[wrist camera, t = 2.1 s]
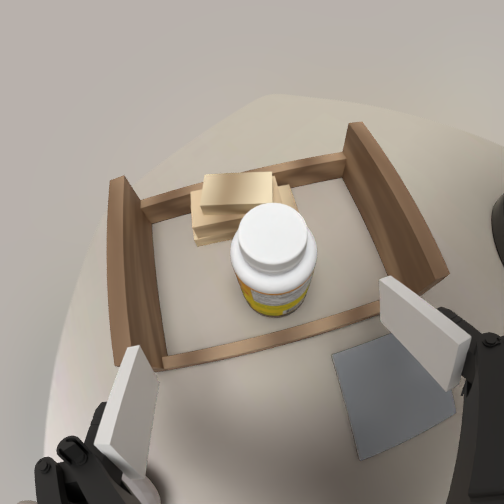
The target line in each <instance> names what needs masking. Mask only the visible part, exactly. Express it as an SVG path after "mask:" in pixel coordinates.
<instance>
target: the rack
mask: <svg viewBox="0 0 504 504" xmlns="http://www.w3.org/2000/svg"><path fill="white" fill-rule="evenodd" d="M246 172H272V176H275V178H276V182H277V185H278V186H283V185H288V184H289V185H290V188H293V187H297V186H302V185H307V184H311V183H316V182H321V181H326V180H330V179H335V178H341V177H342V178H343V180H344V182H345V184H346V186H347V188H348V190H349V192H350V194H351V196H352V198H353V200H354V202H355V204H356V206H357V208H358V210H359V212H360V214H361V216H362V218H363V220H364V222H365V224H366V226H367V229H368V231H369V233H370V235H371V237H372V239H373V242H374V244H375V246H376V248H377V251H378V253H379V255H380V258H381V260H382V262H383V265H384V267H385V270H386V272H387V275H388V276H390V275H391V276H392V277H393V278H395V279H396V280H398V281H399V282H400V283H402V284H403V285H405V286H406V287H407V288H409V289H410V290H411V291H413V292H414V293H416V294H417V295H418V296H421V295H422V294H424V293H425V292H427V291H428V290H429V289H431V288H432V287H433V286H435V285H436V284H437V283H439V282H440V281H441V280H443V279H444V278H445V277H446V276H448V275H449V274H450V273H449V270H448V268H447V266H446V263H445V261H444V259H443V257H442V255H441V252H440V250H439V248H438V246H437V244H436V242H435V240H434V238H433V236H432V234H431V232H430V230H429V228H428V226H427V224H426V222H425V220H424V218H423V216H422V214H421V213H420V211H419V209H418V207H417V205H416V203H415V202H414V200H413V198H412V196H411V195H410V193H409V191H408V190H407V188H406V186H405V185H404V183H403V181H402V180H401V178H400V176H399V175H398V173H397V172H396V170H395V168H394V167H393V165H392V164H391V162H390V161H389V159H388V158H387V156H386V155H385V153H384V152H383V150H382V149H381V147H380V146H379V144H378V143H377V141H376V140H375V139H374V137H373V136H372V134H371V133H370V132H369V130H368V129H367V127H366V126H365V125H364V123H363V122H354V123H349V124H348V129H347V134H346V138H345V143H344V148H343V152H339V153H333V154H328V155H322V156H316V157H311V158H306V159H301V160H295V161H290V162H286V163H281V164H276V165H271V166H267V167H262V168H258V169H254V170H249V171H245V172H241V173H246ZM201 189H203V182H202V183H198V184H194V185H191V186H187V187H183V188H180V189H176V190H173V191H170V192H166V193H163V194H160V195H156V196H153V197H150V198H147V199H143V200H140V199H139V197H138V196H137V194H136V193H135V191H134V190H133V188H132V187H131V185H130V184H129V182H128V180H127V179H126V177H125V176H121V177H118V178H116V179H113V180H110V185H109V200H108V217H107V288H108V306H109V320H110V331H111V341H112V349H113V357H114V365H115V366H117V367H120V365H121V363H122V360H123V357H124V355H125V352H126V350H127V347H132V346H137V345H140V347H141V349H142V351H143V352H144V354H145V356H146V358H147V360H148V362H149V364H150V366H151V367H152V369H153V371H154V372H160V371H166V370H172V369H178V368H183V367H189V366H194V365H199V364H204V363H209V362H214V361H219V360H224V359H228V358H233V357H237V356H241V355H246V354H250V353H254V352H258V351H262V350H266V349H270V348H274V347H277V346H281V345H285V344H288V343H292V342H296V341H299V340H302V339H306V338H309V337H313V336H316V335H319V334H323V333H326V332H329V331H332V330H335V329H338V328H341V327H344V326H347V325H350V324H353V323H356V322H359V321H362V320H365V319H368V318H370V317H373V316H376V315H379V314H380V300H377V301H375V302H372V303H369V304H366V305H363V306H360V307H357V308H354V309H351V310H348V311H345V312H342V313H339V314H336V315H332V316H329V317H326V318H323V319H319V320H316V321H313V322H309V323H306V324H302V325H299V326H295V327H292V328H288V329H285V330H281V331H277V332H273V333H270V334H266V335H262V336H258V337H254V338H250V339H246V340H242V341H238V342H233V343H229V344H225V345H220V346H216V347H211V348H206V349H202V350H197V351H192V352H187V353H182V354H176V355H171V356H168V355H167V349H166V344H165V338H164V331H163V325H162V318H161V311H160V304H159V296H158V288H157V280H156V270H155V260H154V249H153V237H152V224H153V223H156V222H160V221H163V220H167V219H170V218H174V217H177V216H181V215H184V214H188V213H191V206H190V205H191V193H190V192H192V191H196V190H201Z"/></svg>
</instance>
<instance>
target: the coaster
mask: <svg viewBox="0 0 504 504" xmlns="http://www.w3.org/2000/svg"><path fill="white" fill-rule="evenodd" d="M331 356H332V360H333V363H334V367H335V370H336V373H337V377H338V380H339V384H340V388H341V391H342V395H343V398H344V402H345V406H346V409H347V413H348V417H349V421H350V425H351V428H352V432H353V436H354V440H355V444H356V448H357V452H358V456H359V460H360V461H361V460H364V459H367V458H369V457H372V456H374V455H376V454H379V453H381V452H383V451H386V450H388V449H390V448H392V447H394V446H397V445H399V444H401V443H403V442H405V441H407V440H409V439H411V438H413V437H415V436H417V435H419V434H421V433H422V432H424V431H426V430H428V429H430V428H432V427H433V426H435V425H437V424H439V423H440V422H442V421H444V420H445V419H447V418H449V417H450V416H452V415H453V414H455V413H456V408H455V403H454V399H453V394H452V390H449V391H447V392H446V391H445V390H444V389H443V388H442V387H441V386H440V385H439V383H438V382H437V381H436V380H435V379H434V378H433V377H432V376H431V375H430V374H429V372H428V371H427V370H426V369H425V368H424V367H423V366H422V365H421V364H420V363H419V362H418V360H417V359H416V358H415V357H414V356H413V355H412V354H411V353H410V352H409V351H408V350H407V349H406V348H405V347H404V345H403V344H402V343H401V342H400V341H399V340H398V339H397V338H396V337H395V336H394V335H393V334H392V333H390V334H388V335H385V336H383V337H380V338H377V339H375V340H372V341H370V342H367V343H364V344H361V345H359V346H356V347H353V348H350V349H347V350H344V351H341V352H338V353H335V354H332V355H331Z"/></svg>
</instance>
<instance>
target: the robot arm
mask: <svg viewBox="0 0 504 504" xmlns="http://www.w3.org/2000/svg"><path fill="white" fill-rule="evenodd" d="M492 228H493V234H494V239H495V243H496V246H497V249H498V252H499V255H500V257H501V260H502V262H503V264H504V194H503V195H502V196H501V197H500V198H499V199H498V201H497V202H496V203H495V205H494V208H493V212H492ZM379 295H380V321H381V323H382V324H383V325H384V326H385V327H386V328H387V329H388V330H389V331H390V332H391V333H392V334H393V335H394V336H395V337H396V338H397V339H398V340H399V341H400V342H401V343H402V344H403V345H404V347H405V348H406V349H407V350H408V351H409V352H410V353H411V354H412V355H413V356H414V357H415V358H416V359H417V360H418V362H419V363H420V364H421V365H422V366H423V367H424V368H425V369H426V370H427V371H428V372H429V374H430V375H431V376H432V377H433V378H434V379H435V380H436V381H437V382H438V383H439V385H440V386H441V387H442V388H443V389H444V390H445V391H446V392H447V391H449V390H451V389H452V388H454V387H455V386H457V385H458V384H459V382H460V379H461V375H462V376H463V377H464V378H465V379H466V381H465V384H464V387H463V390H462V393H461V396H463V394H464V404H463V416H462V426H461V434H460V441H459V448H458V454H457V459H456V464H455V469H454V474H453V479H452V483H451V487H450V491H449V495H448V498H447V502H446V504H504V336H502V337H500V336H499V335H497V334H495V333H490V332H488V333H484V334H482V333H480V332H479V331H478V330H476V329H475V328H474V327H472V326H471V325H470V324H469V323H467V322H466V321H465V320H463V319H462V318H461V317H459V316H457V314H455V313H454V312H452V311H451V310H449V309H446V308H443V307H440V308H438V309H436V308H434V307H433V306H432V305H430V304H429V303H428V302H426V301H425V300H424V299H422V298H421V297H420V296H418V295H417V294H416V293H414V292H413V291H411V290H410V289H409V288H407V287H406V286H405V285H403V284H402V283H400V282H399V281H398V280H396V279H395V278H393V277H392V276H391V275H390V276H387V277H384V278H381V279H379ZM159 384H160V382H159V380H158V378H157V376H156V375H155V373H154V371H153V369H152V367H151V366H150V364H149V362H148V360H147V358H146V356H145V354H144V352H143V351H142V349H141V347H140V345H137V346H132V347H127V350H126V352H125V355H124V357H123V360H122V363H121V365H120V368H119V371H118V373H117V376H116V379H115V381H114V384H113V387H112V390H111V393H110V395H109V398H108V401H107V402H101V404H100V405H99V406H98V407H97V409H96V410H95V413H94V416H93V419H92V421H91V426H90V427H89V430H88V433H87V436H86V439H85V442H84V443H83V442H82V441H81V440H80V439H79V438H78V437H76V436H68V437H66V438H64V439H63V440H62V441H60V443H59V444H58V446H57V455H58V456H59V457H60V458H61V459H62V460H63V461H64V462H60V463H56V462H55V461H54V460H53V459H52V458H50V457H44V458H42V459H40V460H39V461H38V462H37V464H36V466H35V486H36V496H37V504H142V503H141V502H140V501H139V500H138V498H137V497H136V496H135V495H134V493H133V492H132V491H131V490H130V488H129V487H128V486H127V484H126V483H125V482H124V481H123V480H122V474H123V473H124V474H125V475H126V476H127V477H128V478H129V479H145V475H146V467H147V459H148V452H149V445H150V438H151V431H152V425H153V419H154V412H155V406H156V401H157V395H158V389H159Z"/></svg>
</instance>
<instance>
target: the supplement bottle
mask: <svg viewBox="0 0 504 504" xmlns="http://www.w3.org/2000/svg"><path fill="white" fill-rule="evenodd" d="M230 257H231V263H232V266H233V269H234V271H235V274H236V276H237V279H238V282H239V284H240V287H241V289H242V292H243V295H244V297H245V299H246V301H247V303H248V304H249V305H250V307H251V308H252V309H253V310H255V311H256V312H258V313H259V314H261V315H264V316H268V317H282V316H285V315H288V314H290V313H292V312H293V311H295V310H296V309H297V308H298V307H299V306H300V305H301V304H302V302H303V300H304V298H305V296H306V293H307V290H308V287H309V284H310V281H311V278H312V275H313V271H314V268H315V265H316V260H317V245H316V241H315V238H314V236H313V234H312V233H311V231H310V230H309V228H308V227H307V225H306V222H305V220H304V219H303V217H302V216H301V215H300V214H299V213H298V212H297V211H296V210H295V209H293V208H292V207H290V206H287V205H285V204H281V203H266V204H261V205H259V206H256V207H254V208H253V209H251V210H250V211H249V212H248V213H246V215H245V216H244V217H243V218H242V220H241V222H240V225H239V228H238V230H237V232H236V233H235V235H234V237H233V240H232V243H231V249H230Z"/></svg>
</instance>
